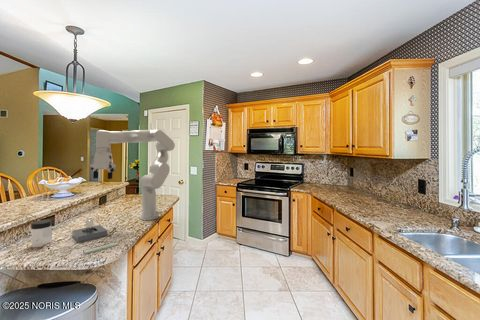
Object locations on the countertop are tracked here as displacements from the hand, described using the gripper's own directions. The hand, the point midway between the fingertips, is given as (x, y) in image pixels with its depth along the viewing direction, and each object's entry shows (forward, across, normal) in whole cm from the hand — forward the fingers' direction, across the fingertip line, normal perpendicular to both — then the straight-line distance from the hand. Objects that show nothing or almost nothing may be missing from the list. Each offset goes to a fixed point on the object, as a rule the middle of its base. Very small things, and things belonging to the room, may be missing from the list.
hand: (102, 178), depth 141 cm
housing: (+32, -2, +11) cm, 34 cm away
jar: (+33, +16, +23) cm, 44 cm away
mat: (+32, -16, +21) cm, 42 cm away
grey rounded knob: (+31, -2, +11) cm, 33 cm away
